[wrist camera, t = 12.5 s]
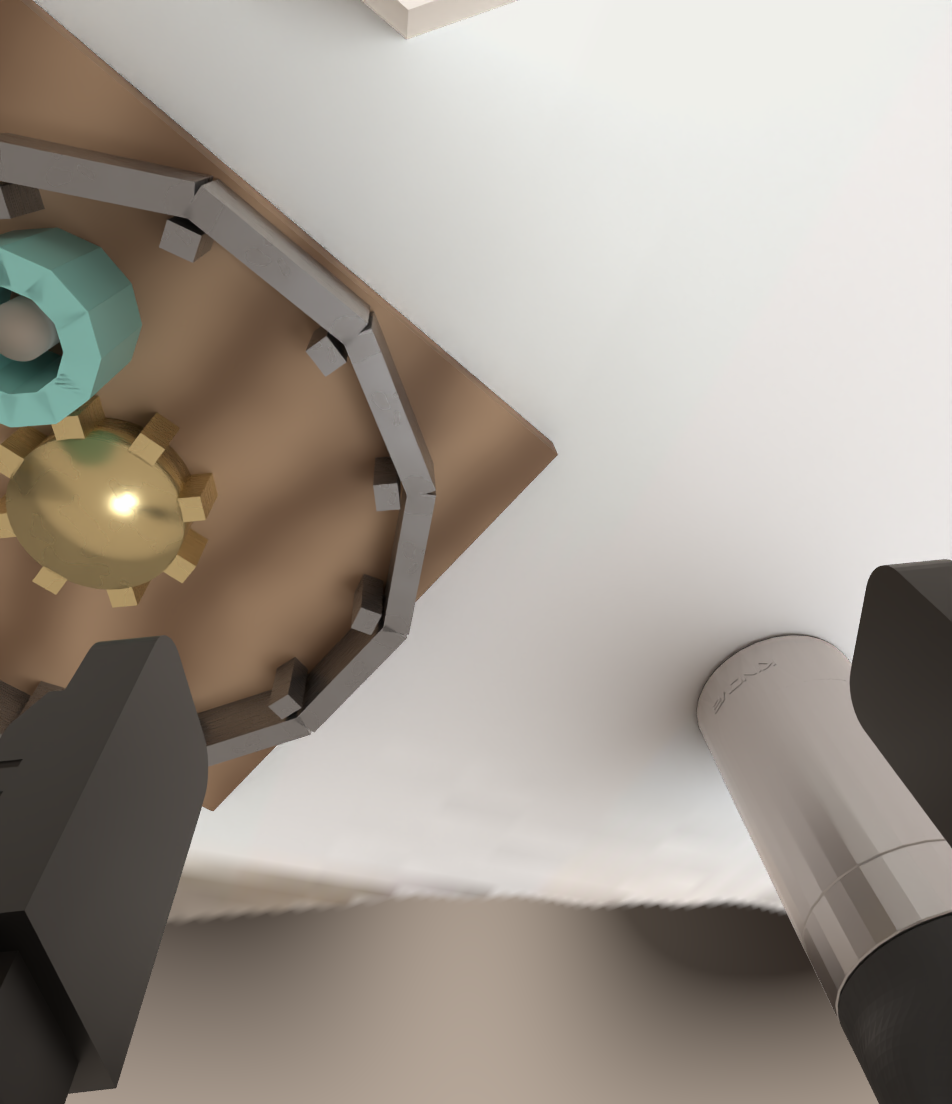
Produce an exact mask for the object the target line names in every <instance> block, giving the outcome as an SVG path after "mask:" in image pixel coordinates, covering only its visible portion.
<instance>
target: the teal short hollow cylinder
mask: <svg viewBox="0 0 952 1104" xmlns="http://www.w3.org/2000/svg"><path fill="white" fill-rule="evenodd" d="M12 291H13V292H16V293H18V294H20V295H22V296H25V297H27V298H29V299H32V300H33V301H34V302H35V303H36V304H37V305H38V307H39V308H40V309H41V310H42V311H43V312H44V313H45V314H46V315H47V316H48V317H49V318H50V319H51V321H52V322H53V323H54V324H55V327H56V330H57V333H58V336H59V340H60V343H61V346H62V349H63V355H62V356H60V355H58V354H55V353H53V352H51V351H48V350H47V351H46V352H44V353H43V354H41V355H40V356H38V357H37V358H35V359H33V360H30V361H15V360H12V359H9V358H7V357H5V356H3V355H2V354H0V424H3V425H6V426H8V427H24V426H37V425H49V424H57V423H58V422H60V421H61V420H63V419H64V418H65V417H67V416H68V415H69V414H71V413H72V412H73V411H75V410H76V409H77V408H79V407H80V406H81V405H83V404H84V403H85V402H87V401H88V400H89V399H90V398H91V397H92V396H94V395H95V394H96V393H97V392H98V391H99V390H100V389H101V388H102V387H103V386H104V385H105V384H107V383H108V382H109V381H110V380H111V379H112V378H113V377H114V376H115V375H116V374H117V373H118V372H119V371H121V370H122V369H123V368H124V367H125V366H126V365H127V364H128V363H129V362H130V361H131V360H132V356H133V353H134V350H135V347H136V344H137V340H138V337H139V334H140V331H141V327H142V322H141V318H140V314H139V310H138V306H137V302H136V298H135V294H134V290H133V287H132V284H131V282H130V281H129V280H128V279H127V277H126V276H125V275H124V274H123V273H122V271H121V270H120V269H119V268H118V267H117V266H116V264H115V263H114V262H113V261H112V260H111V259H110V257H109V256H108V255H107V254H106V253H105V252H104V250H103V249H102V248H101V247H99V246H97V245H95V244H93V243H90V242H88V241H86V240H84V239H82V238H79V237H77V236H75V235H73V234H71V233H69V232H66V231H64V230H62V229H60V228H58V227H55V228H40V229H26V230H13V231H10V232H7V233H4V234H0V305H1V304H3V303H5V302H7V301H9V300H10V296H11V292H12Z"/></svg>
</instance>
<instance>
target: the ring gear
mask: <svg viewBox="0 0 952 1104" xmlns="http://www.w3.org/2000/svg"><path fill="white" fill-rule="evenodd" d="M0 181H3V182H0V219H11V218H14V217H18V216H21V215H25V214H28V213H32V212H36V211H39V210H43V209H45V208H44V205H43V201H42V198H41V195H40V191H39V189H43V190H48V191H53V192H58V193H63V194H68V195H73V196H78V197H83V198H88V199H93V200H98V201H103V202H108V203H113V204H118V205H123V206H128V207H133V208H138V209H143V210H148V211H153V212H158V213H163V214H168V215H173V216H174V217H172V218H170V219H167V222H166V225H165V228H164V232H163V235H162V238H161V242H160V245H159V248H162V249H164V250H166V251H168V252H170V253H172V254H175V255H177V256H179V257H181V258H183V259H185V260H187V261H190V262H192V263H193V262H195V261H196V260H197V259H199V258H200V257H202V256H203V255H204V254H206V253H207V252H208V251H210V250H211V247H212V244H213V241H214V240H215V241H216V242H217V243H219V244H220V245H221V246H222V247H224V248H225V249H226V250H227V251H229V252H230V253H231V254H232V255H234V256H235V257H236V258H237V259H239V260H240V261H241V262H242V263H243V264H245V265H246V266H247V267H248V268H250V269H251V270H252V271H253V272H255V273H256V274H257V275H258V276H260V277H261V278H262V279H263V280H265V281H266V282H267V283H268V284H270V285H271V286H272V287H273V288H275V289H276V290H277V291H278V292H280V293H281V294H282V295H283V296H285V297H286V298H287V299H288V300H289V301H291V302H292V303H293V304H294V305H296V306H297V307H298V308H299V309H301V310H302V311H303V312H304V313H306V314H307V315H308V316H309V317H311V318H312V319H313V320H314V321H316V322H317V323H318V324H319V325H321V327H319V328H318V329H317V330H315V331H314V332H313V334H312V336H311V339H310V341H309V344H308V346H307V349H306V353H307V354H308V355H309V356H310V358H311V359H312V360H313V361H314V363H315V364H316V365H317V367H318V368H319V369H320V370H321V372H322V373H323V374H324V376H325V377H326V376H328V375H329V374H330V373H332V372H333V371H335V370H336V369H338V368H339V367H340V366H342V365H343V364H345V363H346V362H347V357H348V356H349V358H350V360H351V363H352V365H353V367H354V370H355V372H356V375H357V377H358V379H359V382H360V384H361V387H362V389H363V391H364V394H365V396H366V399H367V401H368V403H369V406H370V408H371V411H372V413H373V415H374V418H375V420H376V423H377V425H378V427H379V430H380V432H381V435H382V437H383V439H384V442H385V444H386V446H387V449H388V451H389V454H390V457H378V458H375V468H374V481H373V488H374V496H375V503H376V511H387V510H398V509H399V514H398V520H397V526H396V531H395V537H394V543H393V548H392V554H391V560H390V565H389V571H388V577H387V582H386V588H385V593H384V594H383V581H382V580H380V579H377V578H374V577H372V576H369V575H366V574H363V576H362V578H361V581H360V583H359V585H358V587H357V589H356V591H355V593H354V601H353V611H352V621H351V629H350V630H349V631H348V632H347V633H346V634H345V636H344V637H343V638H342V639H341V640H340V641H339V642H338V643H337V644H336V645H335V646H334V647H333V648H332V649H331V650H330V651H329V652H328V654H327V655H326V656H325V657H324V658H323V659H322V660H321V661H320V662H319V663H318V664H317V665H316V666H315V667H314V668H313V669H312V671H311V672H310V673H309V674H308V675H307V673H308V669H307V668H306V667H305V666H304V665H303V664H302V663H301V662H300V661H299V660H298V659H297V658H296V657H294V658H293V659H291V660H289V661H288V662H286V663H284V664H283V665H281V666H280V667H278V668H277V670H276V674H275V679H274V683H273V688H272V690H269V691H265V692H262V693H259V694H256V695H253V696H250V697H247V698H244V699H241V700H238V701H234V702H231V703H228V704H225V705H222V706H219V707H216V708H213V709H210V710H207V711H203V712H200V713H197V715H198V718H199V721H200V724H201V728H202V731H203V734H204V738H205V742H206V747H207V754H208V767H209V766H212V765H215V764H219V763H222V762H225V761H228V760H231V759H234V758H238V757H241V756H244V755H247V754H250V753H253V752H257V751H260V750H263V749H266V748H269V747H272V746H276V745H279V744H282V743H285V742H288V741H291V740H295V739H298V738H301V737H304V736H307V735H310V734H311V731H313V732H315V731H316V730H317V729H318V728H319V727H320V726H321V725H322V724H323V723H324V722H325V721H326V720H327V719H328V718H329V717H330V716H331V715H332V714H333V713H334V712H335V711H336V710H337V709H338V708H339V707H340V706H341V705H342V704H343V703H344V702H345V701H346V699H347V698H348V697H349V696H350V695H351V694H352V693H353V692H354V691H355V690H356V689H357V688H358V687H359V686H360V685H361V684H362V683H363V682H364V681H365V680H366V679H367V678H368V677H369V676H370V675H371V674H372V673H373V672H374V671H375V670H376V669H377V668H378V667H379V666H380V665H381V664H382V663H383V662H384V661H385V660H386V659H387V658H388V657H389V656H390V655H391V654H392V653H393V652H394V651H395V650H396V649H397V648H398V647H399V646H400V645H401V644H402V643H403V641H404V640H405V639H406V638H407V634H409V631H410V626H411V620H412V615H413V610H414V605H415V600H416V595H417V590H418V585H419V580H420V575H421V570H422V565H423V560H424V555H425V550H426V545H427V540H428V535H429V530H430V525H431V520H432V514H433V509H434V504H435V499H436V487H435V476H434V464H433V461H432V458H431V455H430V453H429V450H428V448H427V445H426V443H425V440H424V438H423V435H422V432H421V430H420V427H419V425H418V422H417V420H416V417H415V414H414V412H413V409H412V407H411V404H410V402H409V399H408V397H407V394H406V391H405V389H404V386H403V384H402V381H401V379H400V376H399V373H398V371H397V368H396V366H395V363H394V361H393V358H392V356H391V353H390V350H389V348H388V345H387V343H386V340H385V338H384V335H383V332H382V330H381V327H380V325H379V322H378V320H377V317H376V314H375V312H374V311H372V312H370V305H369V304H368V303H366V302H365V301H364V300H363V299H362V298H361V297H359V296H358V295H357V294H356V293H355V292H353V291H352V290H351V289H350V288H349V287H347V286H346V285H345V284H344V283H343V282H341V281H340V280H339V279H338V278H337V277H336V276H334V275H333V274H332V273H331V272H330V271H328V270H327V269H326V268H325V267H324V266H322V265H321V264H320V263H319V262H318V261H316V260H315V259H314V258H313V257H312V256H311V255H309V254H308V253H307V252H306V251H305V250H303V249H302V248H301V247H300V246H299V245H297V244H296V243H295V242H294V241H293V240H291V239H290V238H289V237H288V236H287V235H286V234H284V233H283V232H282V231H281V230H280V229H278V228H277V227H276V226H275V225H274V224H272V223H271V222H270V221H269V220H268V219H266V218H265V217H264V216H263V215H262V214H261V213H259V212H258V211H257V210H256V209H255V208H253V207H252V206H251V205H250V204H249V203H247V202H246V201H245V200H244V199H243V198H241V197H240V196H239V195H238V194H237V193H235V192H234V191H233V190H232V189H231V188H230V187H228V186H227V185H226V184H225V183H224V182H222V181H221V180H220V179H217V180H215V181H213V176H212V175H207V174H202V173H198V172H193V171H188V170H183V169H179V168H174V167H169V166H164V165H159V164H155V163H150V162H145V161H140V160H136V159H131V158H126V157H121V156H117V155H112V154H107V153H102V152H97V151H93V150H88V149H83V148H78V147H74V146H69V145H64V144H59V143H55V142H50V141H45V140H40V139H35V138H31V137H26V136H21V135H16V134H12V133H0ZM401 482H402V485H403V492H402V497H401V503H400V490H401ZM65 689H66V688H63V687H60V686H56V685H53V684H50V683H46V682H43V681H41V682H40V683H39V685H38V687H37V688H36V690H35V691H34V693H33V694H32V696H31V695H29V694H27V693H25V692H23V691H21V690H19V689H17V688H15V687H13V686H11V685H9V684H7V683H5V682H3V681H1V680H0V737H1V736H2V734H3V733H4V731H5V730H6V728H7V727H8V725H10V724H11V723H12V722H13V721H14V720H16V719H17V718H18V717H19V716H20V715H22V714H23V713H24V712H25V711H26V710H28V709H29V708H30V707H31V706H32V705H34V704H35V703H36V702H37V701H38V700H40V699H41V698H42V697H43V696H44V695H46V694H47V693H48V692H51V691H61V690H65Z"/></svg>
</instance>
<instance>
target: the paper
mask: <svg viewBox="0 0 952 1104" xmlns="http://www.w3.org/2000/svg"><path fill="white" fill-rule="evenodd" d="M361 1H362V2H363V3H365V4H366V5H367V6H368V7H369V8H370V9H372V10H373V11H374V12H375V13H376V14H377V15H379V16H380V17H381V18H382V19H383V20H384V21H386V22H387V23H388V24H389V25H390V26H391V27H393V28H394V29H395V30H396V31H397V32H398V33H400V34H401V35H402V36H403V37H404V38H405V39H410V38H413V37H415V36H418V35H421V34H424V33H427V32H430V31H433V30H435V29H438V28H441V27H444V26H447V25H450V24H453V23H455V22H458V21H461V20H464V19H467V18H470V17H473V16H475V15H478V14H481V13H484V12H487V11H490V10H493V9H496V8H498V7H501V6H504V5H507V4H510V3H513V2H516V1H518V0H361Z"/></svg>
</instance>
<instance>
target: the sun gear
mask: <svg viewBox="0 0 952 1104" xmlns="http://www.w3.org/2000/svg"><path fill="white" fill-rule="evenodd" d="M51 425H52V428H53V432H52V433H51V434H50V435H49V436H46V435H45V434H43V433H41V432H40V431H38V430H37V429H35V428H34V427H32V426H24V427H21V428H19V429H18V430H17V431H16V432H15V433H13V434H12V435H11V436H10V437H9V438H7V439H6V440H5V441H4V442H3V443H1V444H0V473H2V474H4V475H5V476H7V477H8V478H10V480H9V483H8V486H7V492H6V494H5V495H4V496H3V497H2V498H1V499H0V538H9V537H17V539H18V541H19V542H20V544H21V545H22V546H23V548H24V549H25V550H26V551H27V553H28V554H29V555H30V556H31V557H32V558H33V559H34V560H35V561H37V562H38V563H39V564H40V565H42V566H43V567H42V568H41V570H40V571H39V573H38V574H37V575H36V577H35V578H34V579H33V581H32V582H34V583H36V584H38V585H39V586H41V587H43V588H45V589H46V590H48V591H50V592H52V593H54V594H55V595H56V594H57V593H58V592H59V590H60V589H61V588H62V586H63V585H64V584H65V582H66V581H70V582H72V583H75V584H78V585H82V586H85V587H90V588H96V589H106V590H107V593H108V596H109V599H110V602H111V605H112V608H114V607H125V606H136V605H138V604H139V602H140V600H141V598H142V596H143V594H144V592H145V591H146V589H147V587H148V585H149V583H150V581H151V580H152V579H153V578H155V577H157V576H158V575H160V574H161V573H162V572H164V573H166V574H168V575H169V576H171V577H172V578H174V579H176V580H177V581H179V582H181V583H183V582H184V581H185V580H186V578H187V577H188V576H189V575H190V574H191V572H192V571H193V570H194V569H195V567H196V566H197V564H198V561H199V559H200V557H201V555H202V553H203V550H204V548H205V546H206V544H207V541H208V539H207V538H205V537H204V536H202V535H200V534H199V533H197V532H196V531H194V530H193V529H191V525H192V523H193V521H202V520H206V519H207V517H208V515H209V513H210V511H211V509H212V506H213V504H214V502H215V500H216V498H217V496H218V494H217V489H216V485H215V481H214V477H213V473H203V474H190V472H189V470H188V468H187V466H186V464H185V463H184V461H183V460H182V458H181V457H180V456H179V455H178V453H177V452H176V451H175V450H174V449H173V448H172V447H171V446H170V445H169V443H170V442H171V440H172V439H173V437H174V436H175V435H176V433H177V432H178V430H179V429H180V427H178V426H177V425H175V424H174V423H172V422H171V421H170V420H168V419H167V418H165V417H164V416H162V415H161V414H159V413H158V412H157V413H156V414H155V415H154V417H153V418H152V419H151V420H150V422H149V423H148V424H147V425H146V426H145V428H144V427H141V426H139V425H137V424H134V423H131V422H128V421H125V420H120V419H116V418H107V417H105V414H104V411H103V407H102V404H101V401H100V397H99V396H92V397H91V398H90V399H89V400H88V401H87V402H85V403H84V404H83V405H81V406H80V407H79V408H77V409H76V410H75V411H73V412H72V413H71V414H69V415H68V416H67V417H65V418H64V419H63V420H61V421H60V422H58V423H57V424H51Z"/></svg>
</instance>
